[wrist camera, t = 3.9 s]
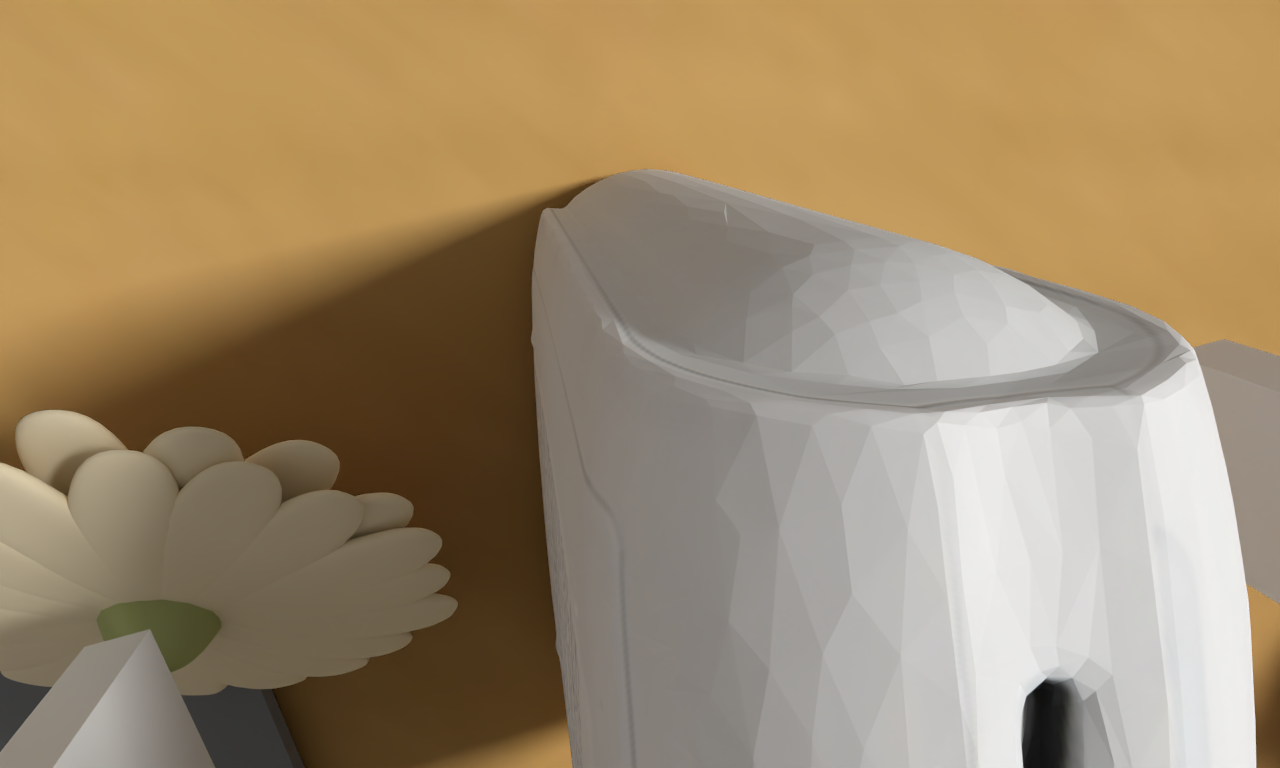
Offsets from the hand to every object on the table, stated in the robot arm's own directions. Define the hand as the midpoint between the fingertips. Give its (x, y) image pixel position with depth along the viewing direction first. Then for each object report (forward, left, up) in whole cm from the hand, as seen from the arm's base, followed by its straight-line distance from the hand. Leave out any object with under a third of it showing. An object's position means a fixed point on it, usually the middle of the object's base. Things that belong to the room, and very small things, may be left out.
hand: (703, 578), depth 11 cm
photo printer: (0, 0, -6) cm, 6 cm away
